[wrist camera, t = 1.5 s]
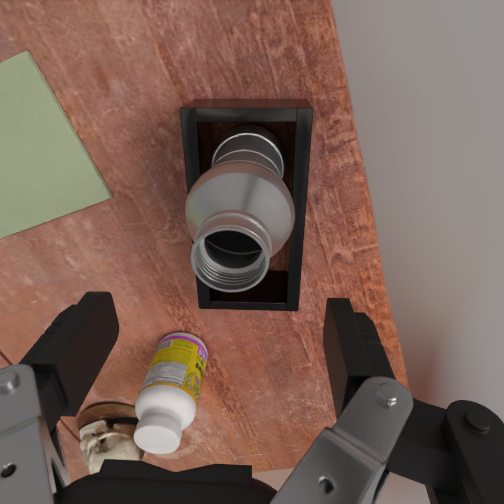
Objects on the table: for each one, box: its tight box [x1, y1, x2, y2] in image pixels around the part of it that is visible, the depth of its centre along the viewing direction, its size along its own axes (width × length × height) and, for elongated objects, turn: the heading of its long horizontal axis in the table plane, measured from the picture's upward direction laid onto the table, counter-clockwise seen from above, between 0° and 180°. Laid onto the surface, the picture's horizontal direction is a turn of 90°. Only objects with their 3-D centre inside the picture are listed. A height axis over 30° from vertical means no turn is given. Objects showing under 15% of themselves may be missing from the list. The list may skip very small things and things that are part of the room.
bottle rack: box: [180, 99, 313, 311], centre depth 34 cm, size 19×10×6 cm, turn 0°
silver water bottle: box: [185, 125, 295, 292], centre depth 25 cm, size 6×7×20 cm
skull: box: [78, 404, 145, 474], centre depth 54 cm, size 12×10×10 cm
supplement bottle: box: [134, 332, 208, 454], centre depth 41 cm, size 7×7×13 cm
